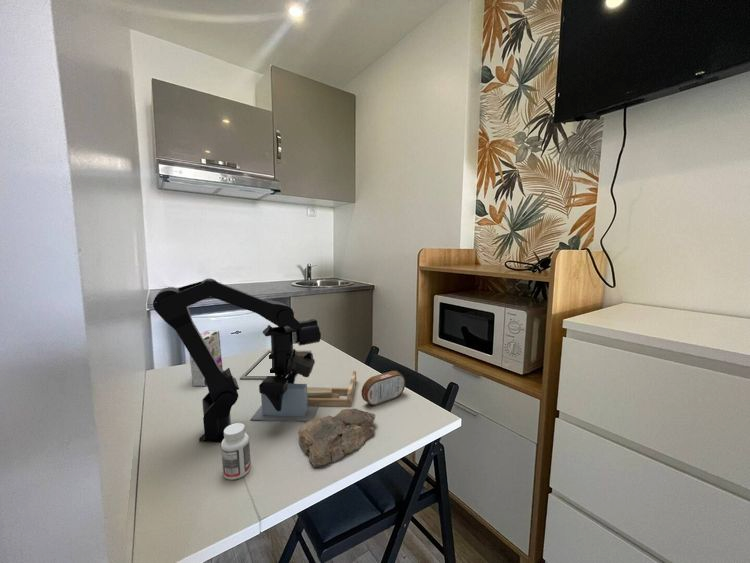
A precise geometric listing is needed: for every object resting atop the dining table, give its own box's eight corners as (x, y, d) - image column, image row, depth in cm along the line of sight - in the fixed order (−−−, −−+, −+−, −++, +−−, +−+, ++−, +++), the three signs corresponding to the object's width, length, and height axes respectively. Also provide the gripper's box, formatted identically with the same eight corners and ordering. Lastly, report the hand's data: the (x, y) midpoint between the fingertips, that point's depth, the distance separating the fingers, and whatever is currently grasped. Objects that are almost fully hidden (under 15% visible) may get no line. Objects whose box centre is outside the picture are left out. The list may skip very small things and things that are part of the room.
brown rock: (360, 412, 87) (292, 437, 75) (360, 396, 86) (291, 419, 75) (389, 440, 75) (314, 473, 64) (390, 421, 74) (314, 452, 63)
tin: (400, 391, 98) (400, 367, 97) (406, 395, 95) (407, 370, 94) (360, 405, 90) (360, 378, 89) (366, 410, 87) (366, 382, 86)
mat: (311, 422, 81) (311, 420, 81) (250, 420, 82) (250, 419, 82) (317, 407, 88) (317, 406, 88) (261, 406, 89) (261, 405, 89)
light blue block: (304, 416, 83) (303, 389, 82) (262, 415, 84) (260, 388, 83) (307, 410, 86) (306, 383, 85) (266, 409, 87) (265, 383, 86)
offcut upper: (331, 397, 91) (331, 392, 91) (301, 398, 91) (301, 392, 91) (332, 393, 94) (332, 388, 94) (303, 394, 94) (302, 388, 93)
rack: (350, 406, 89) (350, 393, 88) (274, 405, 90) (273, 392, 89) (356, 381, 105) (356, 370, 104) (291, 380, 106) (290, 369, 105)
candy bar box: (210, 372, 113) (206, 330, 111) (223, 372, 113) (220, 330, 111) (191, 386, 102) (187, 340, 100) (205, 387, 102) (202, 340, 99)
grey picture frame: (239, 377, 106) (270, 348, 136) (239, 382, 106) (270, 351, 136) (293, 378, 106) (312, 348, 135) (293, 382, 106) (312, 351, 136)
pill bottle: (242, 458, 68) (239, 417, 67) (256, 468, 65) (253, 426, 63) (218, 473, 64) (214, 430, 62) (231, 485, 60) (228, 440, 59)
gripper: (301, 362, 73) (303, 422, 75) (319, 338, 92) (320, 386, 94) (256, 361, 74) (259, 421, 76) (283, 337, 92) (285, 385, 94)
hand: (284, 401), depth 85 cm, fingers open, 9 cm apart
